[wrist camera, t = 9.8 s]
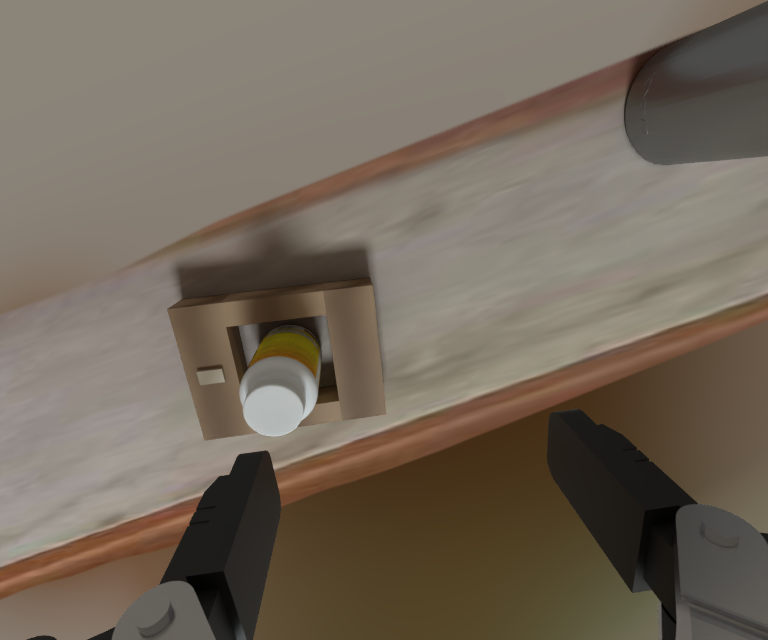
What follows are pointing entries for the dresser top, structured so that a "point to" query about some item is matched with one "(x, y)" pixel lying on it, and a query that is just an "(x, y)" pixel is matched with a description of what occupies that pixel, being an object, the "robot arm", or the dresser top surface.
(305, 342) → the supplement bottle
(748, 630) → the robot arm
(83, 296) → the dresser top surface
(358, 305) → the holder block
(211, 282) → the dresser top surface
